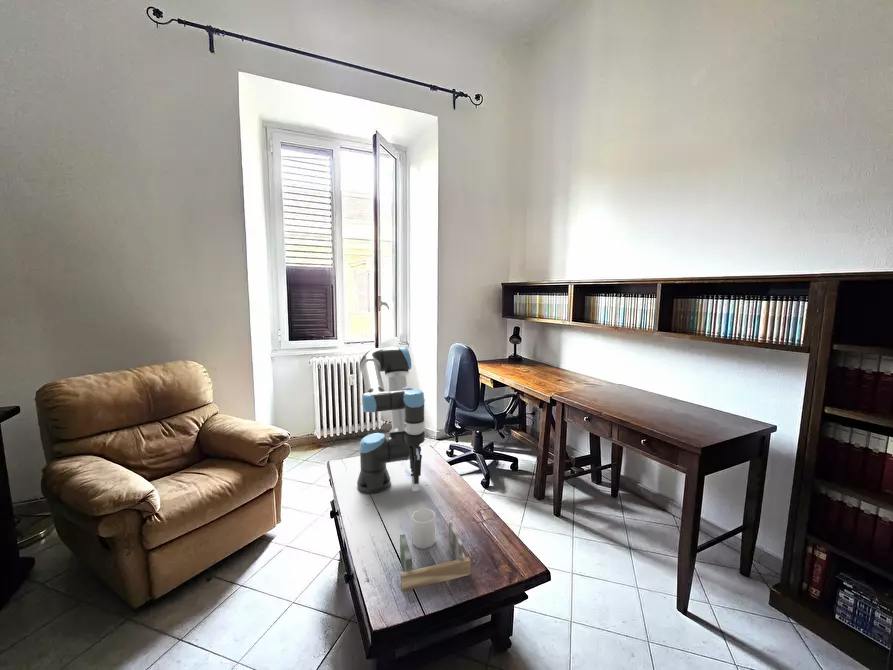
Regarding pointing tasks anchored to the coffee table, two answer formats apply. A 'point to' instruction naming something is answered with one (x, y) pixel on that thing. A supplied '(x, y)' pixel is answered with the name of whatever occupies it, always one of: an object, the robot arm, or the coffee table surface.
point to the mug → (423, 528)
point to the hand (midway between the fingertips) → (415, 489)
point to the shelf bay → (435, 572)
